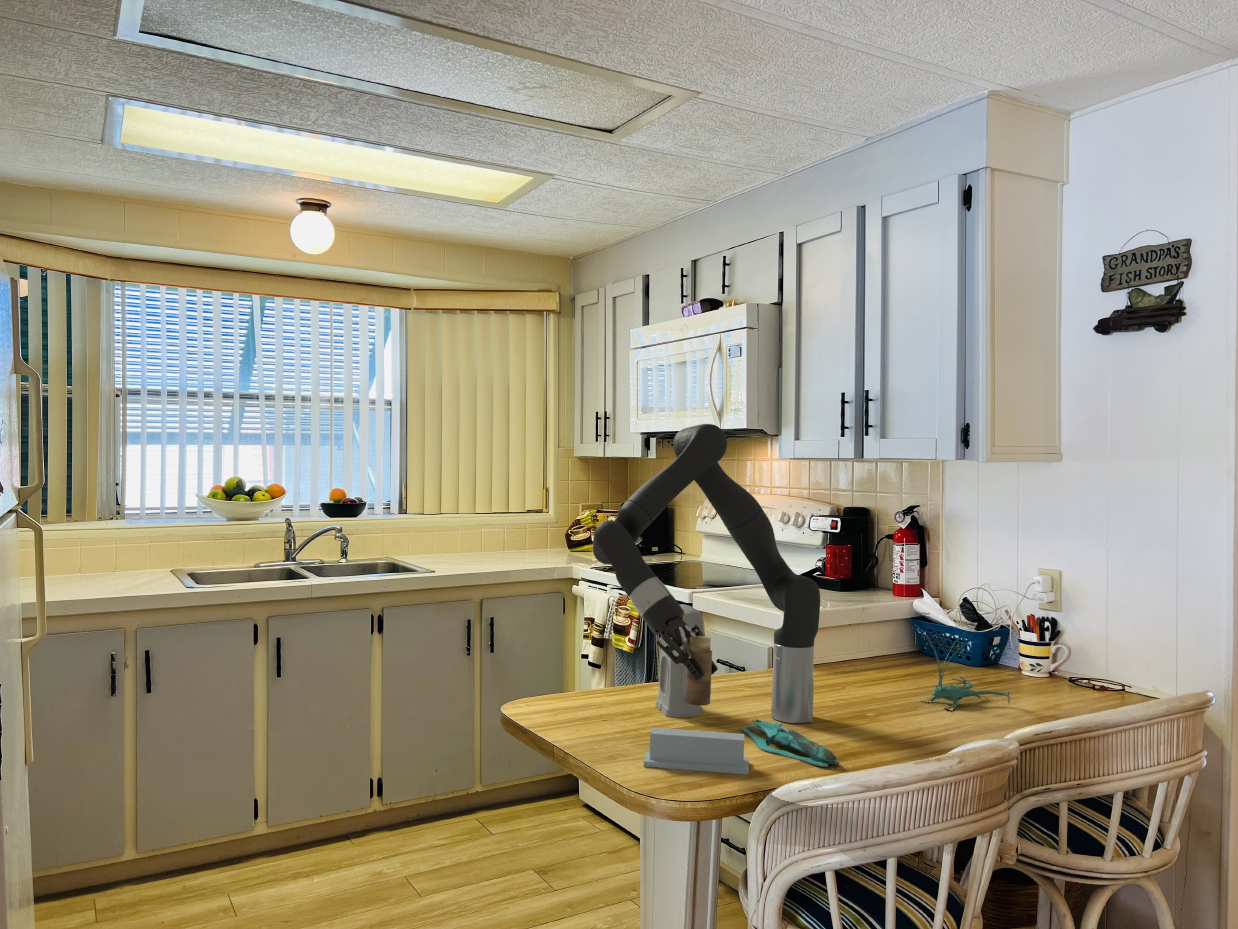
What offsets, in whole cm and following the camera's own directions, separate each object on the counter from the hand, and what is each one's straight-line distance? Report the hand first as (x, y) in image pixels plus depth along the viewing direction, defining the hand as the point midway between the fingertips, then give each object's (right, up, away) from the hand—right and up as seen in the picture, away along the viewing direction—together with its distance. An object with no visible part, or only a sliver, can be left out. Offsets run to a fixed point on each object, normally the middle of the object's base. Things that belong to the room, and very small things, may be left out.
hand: (707, 674), depth 176 cm
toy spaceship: (+18, -19, +13) cm, 29 cm away
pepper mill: (-2, -6, +1) cm, 6 cm away
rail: (-2, -18, +1) cm, 18 cm away
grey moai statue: (-3, -18, +39) cm, 43 cm away
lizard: (+65, -20, +51) cm, 85 cm away
